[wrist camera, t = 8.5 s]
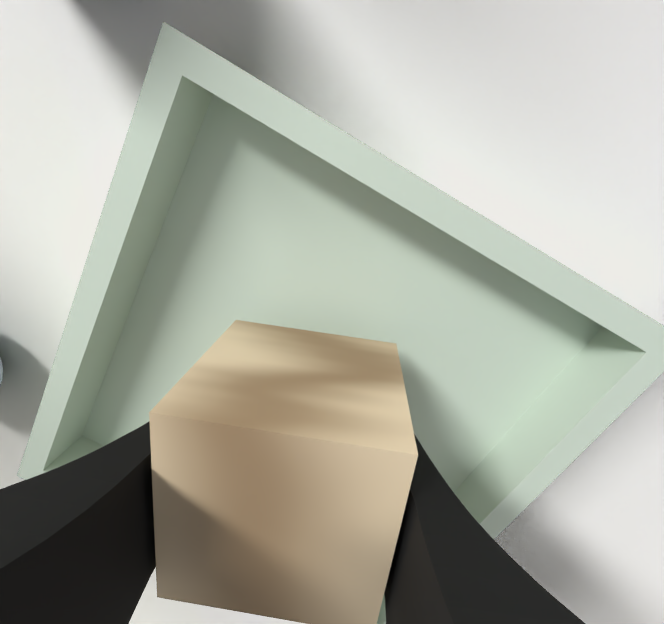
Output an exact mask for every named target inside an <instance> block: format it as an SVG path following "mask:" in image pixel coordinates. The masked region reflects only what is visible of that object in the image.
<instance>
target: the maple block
mask: <svg viewBox="0 0 664 624" xmlns="http://www.w3.org/2000/svg"><path fill="white" fill-rule="evenodd" d="M149 421H150V444H151V467H152V489H153V512H154V535H155V558H156V580H157V597H159V598H165V599H171V600H176V601H182V602H188V603H193V604H199V605H205V606H210V607H216V608H222V609H227V610H233V611H239V612H244V613H250V614H256V615H261V616H267V617H273V618H279V619H284V620H290V621H296V622H301V623H307V624H377V620H378V616H379V612H380V608H381V604H382V600H383V596H384V592H385V588H386V584H387V580H388V576H389V572H390V567H391V563H392V559H393V555H394V551H395V547H396V543H397V539H398V535H399V531H400V527H401V523H402V519H403V515H404V511H405V507H406V502H407V498H408V494H409V490H410V486H411V482H412V478H413V474H414V470H415V466H416V462H417V458H418V451H417V446H416V441H415V436H414V431H413V426H412V421H411V416H410V410H409V405H408V400H407V395H406V390H405V385H404V380H403V375H402V369H401V364H400V359H399V354H398V349H397V344H396V343H390V342H383V341H376V340H370V339H363V338H356V337H349V336H342V335H336V334H329V333H322V332H315V331H309V330H302V329H295V328H288V327H281V326H275V325H268V324H261V323H254V322H248V321H241V320H235V321H234V322H233V323H232V324H231V326H230V327H229V328H228V329H227V330H226V331H225V332H224V333H223V334H222V335H221V336H220V337H219V338H218V339H217V341H216V342H215V343H214V344H213V345H212V346H211V347H210V348H209V349H208V350H207V351H206V352H205V353H204V354H203V355H202V357H201V358H200V359H199V360H198V361H197V362H196V363H195V364H194V365H193V366H192V367H191V368H190V369H189V370H188V371H187V373H186V374H185V375H184V376H183V377H182V378H181V379H180V380H179V381H178V382H177V383H176V384H175V385H174V386H173V387H172V389H171V390H170V391H169V392H168V393H167V394H166V395H165V396H164V397H163V398H162V399H161V400H160V401H159V402H158V404H157V405H156V406H155V407H154V408H153V409H152V410H151V411H150V412H149Z"/></svg>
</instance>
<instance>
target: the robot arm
mask: <svg viewBox="0 0 664 624" xmlns="http://www.w3.org/2000/svg"><path fill="white" fill-rule="evenodd" d="M414 436H415V441H416V446H417V451H418V458H417V462H416V466H415V470H414V474H413V478H412V482H411V486H410V490H409V494H408V498H407V502H406V507H405V511H404V515H403V519H402V523H401V527H400V531H399V535H398V539H397V543H396V547H395V551H394V555H393V559H392V563H391V567H390V572H389V576H388V580H387V584H386V588H385V592H384V596H385V611H386V624H585V623H584V622H583V621H581V620H580V619H579V618H578V617H577V616H576V615H574V614H573V613H572V612H571V611H570V610H568V609H567V608H566V607H565V606H564V605H562V604H561V603H560V602H559V601H558V600H557V599H555V598H554V597H553V596H552V595H551V594H550V593H549V592H547V591H546V590H545V589H544V588H543V587H542V586H541V585H540V584H538V583H537V582H536V581H535V580H534V579H533V578H532V577H531V576H530V575H529V574H528V573H527V572H526V571H525V570H524V569H523V568H521V567H520V566H519V565H518V564H517V563H516V562H515V561H514V560H513V559H512V558H511V557H510V556H509V555H508V554H507V553H506V552H505V551H504V550H503V549H502V548H501V547H500V546H499V545H498V544H497V543H496V542H495V541H494V539H493V538H492V537H491V536H490V535H489V534H488V533H487V532H486V531H485V530H484V528H483V527H482V526H481V525H480V524H479V523H478V522H477V521H476V520H475V518H474V517H473V516H472V515H471V514H470V513H469V511H468V510H467V509H466V508H465V506H464V505H463V504H462V503H461V501H460V500H459V499H458V497H457V496H456V495H455V494H454V492H453V491H452V489H451V488H450V487H449V485H448V484H447V483H446V481H445V480H444V478H443V477H442V475H441V474H440V473H439V471H438V470H437V468H436V467H435V465H434V464H433V462H432V461H431V459H430V458H429V456H428V455H427V453H426V451H425V450H424V448H423V447H422V445H421V443H420V442H419V440H418V439H417V437H416V435H415V434H414ZM155 567H156V558H155V535H154V512H153V489H152V467H151V444H150V421H149V422H147V423H146V424H144V425H142V426H141V427H139V428H137V429H135V430H133V431H131V432H130V433H128V434H126V435H124V436H122V437H120V438H118V439H116V440H115V441H113V442H111V443H109V444H107V445H105V446H103V447H101V448H99V449H97V450H95V451H93V452H91V453H89V454H87V455H85V456H83V457H80V458H78V459H76V460H74V461H71V462H69V463H67V464H65V465H62V466H60V467H58V468H55V469H53V470H51V471H48V472H45V473H43V474H40V475H38V476H35V477H32V478H30V479H27V480H24V481H22V482H19V483H16V484H14V485H11V486H8V487H6V488H3V489H0V624H128V623H129V621H130V619H131V617H132V614H133V612H134V610H135V608H136V606H137V604H138V602H139V599H140V597H141V595H142V593H143V591H144V589H145V587H146V584H147V582H148V580H149V578H150V576H151V574H152V572H153V570H154V569H155Z"/></svg>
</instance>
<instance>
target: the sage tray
mask: <svg viewBox="0 0 664 624" xmlns="http://www.w3.org/2000/svg"><path fill="white" fill-rule="evenodd" d="M235 320H241V321H248V322H254V323H261V324H268V325H275V326H281V327H288V328H295V329H302V330H309V331H315V332H322V333H329V334H336V335H342V336H349V337H356V338H363V339H370V340H376V341H383V342H390V343H396V344H397V349H398V354H399V359H400V364H401V369H402V375H403V380H404V385H405V390H406V395H407V400H408V405H409V410H410V416H411V421H412V426H413V431H414V434H415V435H416V437H417V439H418V440H419V442H420V443H421V445H422V447H423V448H424V450H425V451H426V453H427V455H428V456H429V458H430V459H431V461H432V462H433V464H434V465H435V467H436V468H437V470H438V471H439V473H440V474H441V475H442V477H443V478H444V480H445V481H446V483H447V484H448V485H449V487H450V488H451V489H452V491H453V492H454V494H455V495H456V496H457V497H458V499H459V500H460V501H461V503H462V504H463V505H464V506H465V508H466V509H467V510H468V511H469V513H470V514H471V515H472V516H473V517H474V518H475V520H476V521H477V522H478V523H479V524H480V525H481V526H482V527H483V528H484V530H485V531H486V532H487V533H488V534H489V535H490V536H491V537H492V538H493V539H495V538H496V537H497V536H498V535H499V534H500V533H501V532H502V531H503V530H504V529H505V528H506V527H507V526H508V525H509V524H510V523H511V522H512V521H513V520H514V519H515V518H516V517H518V516H519V515H520V514H521V513H522V512H523V511H524V510H525V509H526V508H527V507H528V506H529V505H530V504H531V503H532V502H533V501H534V500H535V499H536V498H537V497H538V496H539V495H540V494H541V493H542V492H543V491H544V490H545V489H546V488H547V487H548V486H549V485H550V484H551V483H552V482H553V481H554V480H555V479H556V478H557V477H558V476H559V475H560V474H561V473H562V472H563V471H564V470H565V469H566V468H567V467H568V466H569V465H570V464H571V463H572V462H573V461H574V460H575V459H576V458H577V457H578V456H579V455H580V454H581V453H582V452H583V451H584V450H585V449H586V448H587V447H588V446H589V445H590V444H591V443H592V442H593V441H594V440H595V439H596V438H597V437H598V436H599V435H600V434H601V433H602V432H603V431H604V430H605V429H606V428H607V427H608V426H609V425H610V424H611V423H612V422H613V421H614V420H615V419H617V418H618V417H619V416H620V415H621V414H622V413H623V412H624V411H625V410H626V409H627V408H628V407H629V406H630V405H631V404H632V403H633V402H634V401H635V400H636V399H637V398H638V397H639V396H640V395H641V394H642V393H643V392H644V391H645V390H646V389H647V388H648V387H649V386H650V385H651V384H652V383H653V382H654V381H655V380H656V379H657V378H658V377H659V376H660V375H661V374H662V373H663V372H664V326H663V325H662V324H660V323H658V322H657V321H655V320H654V319H652V318H650V317H649V316H647V315H645V314H644V313H642V312H640V311H639V310H637V309H635V308H634V307H632V306H631V305H629V304H627V303H626V302H624V301H622V300H621V299H619V298H617V297H616V296H614V295H612V294H611V293H609V292H607V291H606V290H604V289H603V288H601V287H599V286H598V285H596V284H594V283H593V282H591V281H589V280H588V279H586V278H584V277H583V276H581V275H580V274H578V273H576V272H575V271H573V270H571V269H570V268H568V267H566V266H565V265H563V264H561V263H560V262H558V261H557V260H555V259H553V258H552V257H550V256H548V255H547V254H545V253H543V252H542V251H540V250H538V249H537V248H535V247H533V246H532V245H530V244H529V243H527V242H525V241H524V240H522V239H520V238H519V237H517V236H515V235H514V234H512V233H510V232H509V231H507V230H506V229H504V228H502V227H501V226H499V225H497V224H496V223H494V222H492V221H491V220H489V219H487V218H486V217H484V216H483V215H481V214H479V213H478V212H476V211H474V210H473V209H471V208H469V207H468V206H466V205H464V204H463V203H461V202H459V201H458V200H456V199H455V198H453V197H451V196H450V195H448V194H446V193H445V192H443V191H441V190H440V189H438V188H436V187H435V186H433V185H432V184H430V183H428V182H427V181H425V180H423V179H422V178H420V177H418V176H417V175H415V174H413V173H412V172H410V171H408V170H407V169H405V168H404V167H402V166H400V165H399V164H397V163H395V162H394V161H392V160H390V159H389V158H387V157H385V156H384V155H382V154H381V153H379V152H377V151H376V150H374V149H372V148H371V147H369V146H367V145H366V144H364V143H362V142H361V141H359V140H358V139H356V138H354V137H353V136H351V135H349V134H348V133H346V132H344V131H343V130H341V129H339V128H338V127H336V126H334V125H333V124H331V123H330V122H328V121H326V120H325V119H323V118H321V117H320V116H318V115H316V114H315V113H313V112H311V111H310V110H308V109H307V108H305V107H303V106H302V105H300V104H298V103H297V102H295V101H293V100H292V99H290V98H288V97H287V96H285V95H284V94H282V93H280V92H279V91H277V90H275V89H274V88H272V87H270V86H269V85H267V84H265V83H264V82H262V81H260V80H259V79H257V78H256V77H254V76H252V75H251V74H249V73H247V72H246V71H244V70H242V69H241V68H239V67H237V66H236V65H234V64H233V63H231V62H229V61H228V60H226V59H224V58H223V57H221V56H219V55H218V54H216V53H214V52H213V51H211V50H209V49H208V48H206V47H205V46H203V45H201V44H200V43H198V42H196V41H195V40H193V39H191V38H190V37H188V36H186V35H185V34H183V33H182V32H180V31H178V30H177V29H175V28H173V27H172V26H170V25H168V24H167V23H165V22H163V24H162V27H161V30H160V33H159V36H158V39H157V42H156V45H155V48H154V52H153V55H152V58H151V61H150V64H149V67H148V70H147V73H146V76H145V80H144V83H143V86H142V89H141V92H140V95H139V98H138V101H137V104H136V108H135V111H134V114H133V117H132V120H131V123H130V126H129V129H128V132H127V136H126V139H125V142H124V145H123V148H122V151H121V154H120V157H119V160H118V163H117V167H116V170H115V173H114V176H113V179H112V182H111V185H110V188H109V191H108V195H107V198H106V201H105V204H104V207H103V210H102V213H101V216H100V219H99V223H98V226H97V229H96V232H95V235H94V238H93V241H92V244H91V247H90V251H89V254H88V257H87V260H86V263H85V266H84V269H83V272H82V275H81V279H80V282H79V285H78V288H77V291H76V294H75V297H74V300H73V303H72V307H71V310H70V313H69V316H68V319H67V322H66V325H65V328H64V331H63V335H62V338H61V341H60V344H59V347H58V350H57V353H56V356H55V359H54V363H53V366H52V369H51V372H50V375H49V378H48V381H47V384H46V387H45V391H44V394H43V397H42V400H41V403H40V406H39V409H38V412H37V415H36V419H35V422H34V425H33V428H32V431H31V434H30V437H29V440H28V443H27V446H26V450H25V453H24V456H23V459H22V462H21V465H20V468H19V471H18V474H17V476H19V477H21V478H23V479H25V480H27V479H30V478H32V477H35V476H38V475H40V474H43V473H45V472H48V471H51V470H53V469H55V468H58V467H60V466H62V465H65V464H67V463H69V462H71V461H74V460H76V459H78V458H80V457H83V456H85V455H87V454H89V453H91V452H93V451H95V450H97V449H99V448H101V447H103V446H105V445H107V444H109V443H111V442H113V441H115V440H116V439H118V438H120V437H122V436H124V435H126V434H128V433H130V432H131V431H133V430H135V429H137V428H139V427H141V426H142V425H144V424H146V423H147V422H149V412H150V411H151V410H152V409H153V408H154V407H155V406H156V405H157V404H158V402H159V401H160V400H161V399H162V398H163V397H164V396H165V395H166V394H167V393H168V392H169V391H170V390H171V389H172V387H173V386H174V385H175V384H176V383H177V382H178V381H179V380H180V379H181V378H182V377H183V376H184V375H185V374H186V373H187V371H188V370H189V369H190V368H191V367H192V366H193V365H194V364H195V363H196V362H197V361H198V360H199V359H200V358H201V357H202V355H203V354H204V353H205V352H206V351H207V350H208V349H209V348H210V347H211V346H212V345H213V344H214V343H215V342H216V341H217V339H218V338H219V337H220V336H221V335H222V334H223V333H224V332H225V331H226V330H227V329H228V328H229V327H230V326H231V324H232V323H233V322H234V321H235ZM377 624H386V611H385V596H383V600H382V604H381V608H380V612H379V616H378V620H377Z"/></svg>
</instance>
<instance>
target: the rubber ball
mask: <svg viewBox="0 0 664 624" xmlns="http://www.w3.org/2000/svg"><path fill="white" fill-rule="evenodd" d="M2 378H3V366H2V361H1V358H0V385H1V382H2Z"/></svg>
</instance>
